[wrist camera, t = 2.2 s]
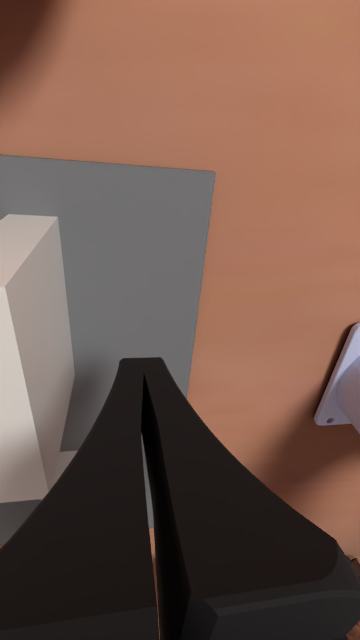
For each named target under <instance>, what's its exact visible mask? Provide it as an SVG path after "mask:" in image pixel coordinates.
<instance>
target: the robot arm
mask: <svg viewBox="0 0 360 640" xmlns="http://www.w3.org/2000/svg"><path fill="white" fill-rule="evenodd" d="M314 421H315V423H316V424H317V425H319V426H325V425H340V424H352V425H353V426H354V427H355V429H356V430H357V431H358V433H359V434H360V323H357V324H355V325H354V326H353V327H352V329H351V331H350V333H349V335H348V338H347V340H346V342H345V345H344V347H343V350H342V352H341V354H340V357H339V359H338V361H337V364H336V366H335V369H334V371H333V373H332V376H331V378H330V381H329V383H328V385H327V388H326V390H325V392H324V395H323V397H322V400H321V402H320V404H319V407H318V409H317V412H316V414H315V416H314ZM141 436H142V438H143V445H144V452H145V459H146V466H147V473H148V479H149V486H150V493H151V500H152V509H153V521H154V537H155V554H156V572H157V590H158V610H159V628H158V613H157V602H156V592H155V583H154V574H153V564H152V554H151V544H150V534H149V524H148V513H147V502H146V491H145V479H144V467H143V454H142V441H141ZM359 621H360V580H359V578H358V576H357V574H356V572H355V571H354V569H353V567H352V565H351V564H350V562H349V560H348V559H347V557H346V556H345V554H344V552H343V551H342V549H341V548H340V546H339V545H338V543H337V541H336V540H335V539H334V538H333V537H331V536H330V535H328V534H327V533H326V532H324V531H323V530H322V529H320V528H319V527H317V526H316V525H315V524H313V523H312V522H311V521H309V520H308V519H306V518H305V517H304V516H302V515H301V514H299V513H298V512H297V511H295V510H294V509H293V508H292V507H290V506H289V505H288V504H287V503H285V502H284V501H283V500H282V499H281V498H279V497H278V496H277V495H276V494H274V493H273V492H272V491H271V490H270V489H269V488H267V487H266V486H265V485H264V484H263V483H262V482H261V481H260V480H259V479H258V478H256V477H255V476H254V475H253V474H252V473H251V472H250V471H249V470H248V469H246V468H245V467H244V466H243V465H242V464H241V463H240V462H239V461H238V460H237V459H236V458H235V457H234V456H233V455H232V454H231V453H230V452H229V451H228V450H227V449H226V448H225V447H224V445H223V444H222V443H221V442H220V441H219V440H218V439H217V438H216V437H215V435H214V434H213V433H212V432H211V431H210V430H209V428H208V427H207V426H206V425H205V423H204V422H203V421H202V420H201V418H200V417H199V416H198V415H197V413H196V412H195V411H194V409H193V408H192V406H191V405H190V404H189V402H188V401H187V399H186V398H185V396H184V395H183V393H182V392H181V390H180V389H179V387H178V386H177V384H176V382H175V381H174V379H173V377H172V375H171V374H170V372H169V370H168V368H167V366H166V364H165V362H164V360H163V359H162V358H161V357H148V358H122V359H121V360H120V361H119V367H118V371H117V374H116V377H115V380H114V383H113V385H112V388H111V390H110V392H109V395H108V397H107V399H106V401H105V404H104V406H103V408H102V410H101V412H100V413H99V415H98V417H97V419H96V421H95V423H94V425H93V427H92V428H91V430H90V432H89V434H88V435H87V437H86V439H85V440H84V442H83V444H82V445H81V447H80V448H79V450H78V451H77V453H76V454H75V456H74V457H73V459H72V460H71V462H70V463H69V465H68V466H67V467H66V469H65V470H64V472H63V473H62V475H61V476H60V477H59V479H58V480H57V482H56V483H55V484H54V486H53V487H52V488H51V489H50V491H49V492H48V493H47V495H46V496H45V497H44V498H43V500H42V501H41V502H40V503H39V504H38V506H37V507H36V508H35V509H34V511H33V512H32V513H31V514H30V515H29V517H28V518H27V519H26V520H25V521H24V523H23V524H22V525H21V526H20V528H19V529H18V530H17V531H16V532H15V533H14V534H13V536H12V537H11V538H10V539H9V540H8V541H7V542H6V543H5V545H4V546H3V547H2V548H1V549H0V640H159V629H160V640H348V638H347V636H346V634H347V633H348V632H349V631H350V630H351V629H352V628H353V627H354V626H355V625H356V624H357V623H358V622H359Z"/></svg>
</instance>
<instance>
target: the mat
mask: <svg viewBox="0 0 360 640" xmlns="http://www.w3.org/2000/svg"><path fill="white" fill-rule="evenodd" d="M215 174H216V172H214V171H203V170H190V169H177V168H165V167H152V166H139V165H126V164H114V163H101V162H88V161H75V160H62V159H50V158H37V157H24V156H11V155H0V220H1V219H3V218H4V217H5V216H7V215H8V214H14V215H35V216H55V217H58V222H59V231H60V241H61V250H62V259H63V268H64V278H65V287H66V296H67V306H68V315H69V324H70V334H71V343H72V352H73V361H74V371H75V377H74V382H73V387H72V392H71V397H70V401H69V406H68V411H67V416H66V421H65V426H64V431H63V436H62V441H61V446H60V451H59V452H65V451H78V450H79V448H80V447H81V445H82V444H83V442H84V440H85V439H86V437H87V435H88V434H89V432H90V430H91V428H92V427H93V425H94V423H95V421H96V419H97V417H98V415H99V413H100V412H101V410H102V408H103V406H104V404H105V401H106V399H107V397H108V395H109V392H110V390H111V388H112V385H113V383H114V380H115V377H116V374H117V371H118V367H119V361H120V360H121V359H122V358H148V357H161V358H162V359H163V360H164V362H165V364H166V366H167V368H168V370H169V372H170V374H171V375H172V377H173V379H174V381H175V382H176V384H177V386H178V387H179V389H180V390H181V392H182V393H183V395H184V396H185V398H186V399H187V393H188V385H189V377H190V369H191V361H192V354H193V346H194V338H195V330H196V322H197V314H198V307H199V299H200V291H201V283H202V275H203V268H204V260H205V252H206V244H207V236H208V229H209V221H210V213H211V205H212V197H213V190H214V182H215ZM141 441H142V454H143V467H144V479H145V491H146V502H147V513H148V524H149V528H154V521H153V509H152V500H151V493H150V486H149V479H148V473H147V466H146V459H145V452H144V445H143V438H142V436H141ZM40 500H41V499H37V500H26V501H16V502H5V503H0V545H5V543H6V542H7V541H8V540H9V539H10V538H11V537H12V536H13V534H14V533H15V532H16V531H17V530H18V529H19V528H20V526H21V525H22V524H23V523H24V521H25V520H26V519H27V518H28V517H29V515H30V514H31V513H32V512H33V511H34V509H35V508H36V507H37V506H38V504H39V503H40Z"/></svg>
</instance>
